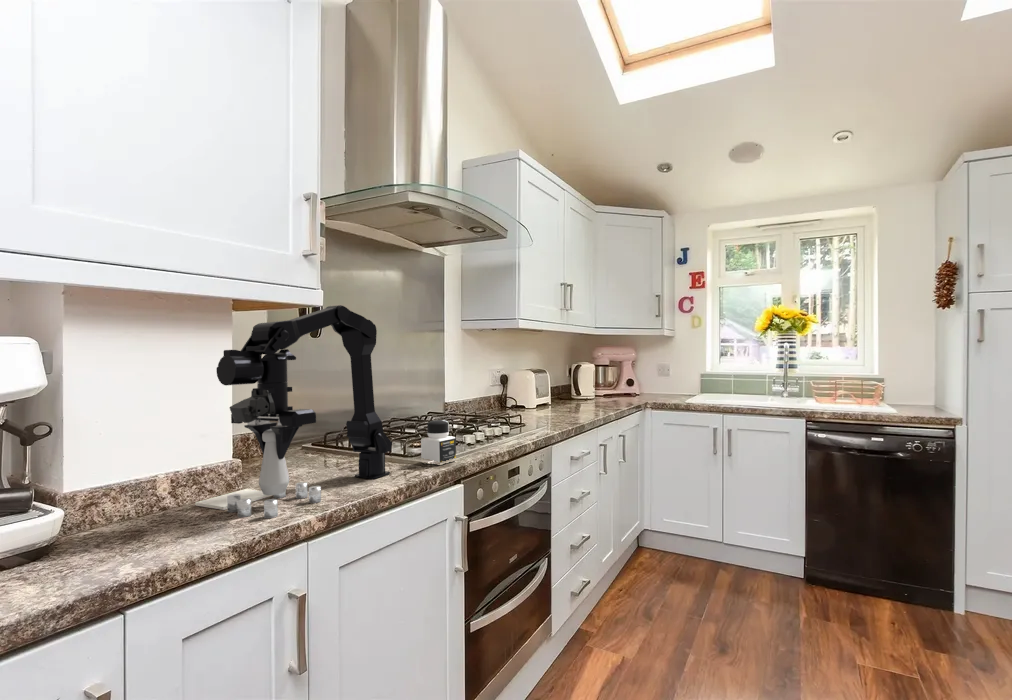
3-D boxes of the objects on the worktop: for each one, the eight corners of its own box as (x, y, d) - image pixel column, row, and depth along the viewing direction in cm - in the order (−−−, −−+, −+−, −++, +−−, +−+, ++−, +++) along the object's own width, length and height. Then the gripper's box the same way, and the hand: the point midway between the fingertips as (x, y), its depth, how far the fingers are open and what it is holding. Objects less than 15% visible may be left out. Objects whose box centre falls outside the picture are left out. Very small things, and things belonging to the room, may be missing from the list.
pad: (246, 491, 118) (246, 488, 118) (273, 495, 115) (273, 492, 115) (195, 505, 108) (195, 502, 108) (223, 509, 104) (223, 506, 104)
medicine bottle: (440, 466, 142) (439, 422, 142) (420, 463, 146) (420, 421, 146) (456, 461, 148) (455, 419, 148) (437, 459, 152) (436, 418, 152)
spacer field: (285, 493, 116) (285, 479, 116) (328, 498, 110) (328, 484, 110) (217, 513, 101) (217, 498, 101) (263, 521, 96) (263, 505, 96)
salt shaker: (269, 497, 102) (268, 432, 102) (252, 494, 105) (251, 430, 105) (295, 491, 107) (294, 428, 107) (278, 487, 110) (277, 427, 110)
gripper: (206, 385, 103) (207, 463, 103) (271, 385, 95) (272, 469, 95) (254, 382, 113) (255, 453, 113) (317, 381, 105) (318, 458, 105)
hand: (273, 458), depth 106 cm, fingers closed on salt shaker, 4 cm apart
